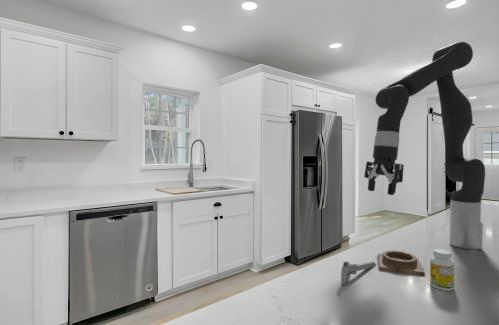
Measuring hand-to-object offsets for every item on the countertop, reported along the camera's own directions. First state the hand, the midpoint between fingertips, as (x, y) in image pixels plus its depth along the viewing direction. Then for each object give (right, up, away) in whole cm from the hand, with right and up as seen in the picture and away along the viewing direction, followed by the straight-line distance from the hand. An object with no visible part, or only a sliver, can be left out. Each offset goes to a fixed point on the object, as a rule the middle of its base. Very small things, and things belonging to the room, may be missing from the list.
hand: (380, 192), depth 98 cm
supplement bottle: (+7, -23, -21) cm, 32 cm away
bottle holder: (+3, -22, -7) cm, 24 cm away
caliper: (-12, -23, -13) cm, 29 cm away
